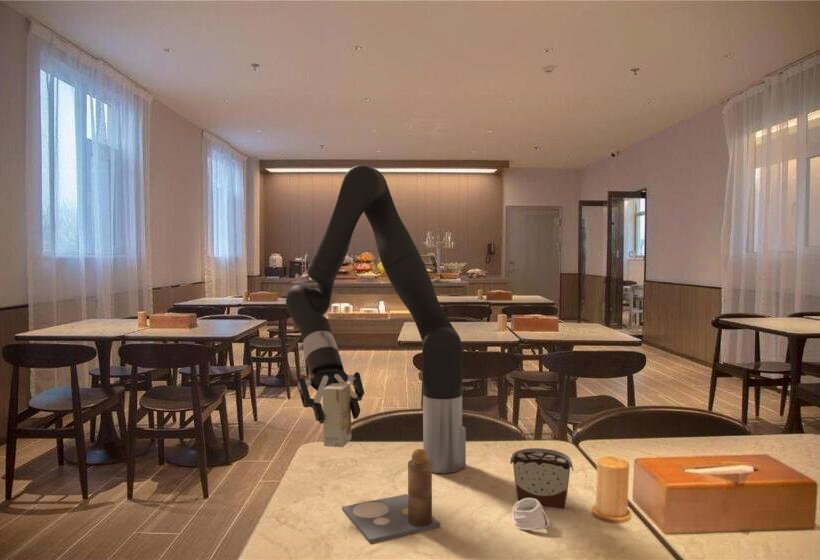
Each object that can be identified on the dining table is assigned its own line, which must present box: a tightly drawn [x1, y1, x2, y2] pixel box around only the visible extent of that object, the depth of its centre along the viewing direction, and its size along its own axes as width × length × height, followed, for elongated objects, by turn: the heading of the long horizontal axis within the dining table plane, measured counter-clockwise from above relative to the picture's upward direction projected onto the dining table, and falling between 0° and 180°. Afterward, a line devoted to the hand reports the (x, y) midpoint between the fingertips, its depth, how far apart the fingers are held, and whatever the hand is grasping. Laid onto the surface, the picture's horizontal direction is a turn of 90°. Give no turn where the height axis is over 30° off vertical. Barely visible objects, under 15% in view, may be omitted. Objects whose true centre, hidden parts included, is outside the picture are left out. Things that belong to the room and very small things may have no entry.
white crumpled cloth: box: [511, 498, 550, 531], centre depth 107 cm, size 8×7×5 cm
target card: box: [341, 493, 442, 544], centre depth 110 cm, size 14×15×1 cm
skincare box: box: [322, 383, 352, 448], centre depth 122 cm, size 6×4×12 cm
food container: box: [509, 447, 574, 511], centre depth 117 cm, size 12×6×10 cm, turn 71°
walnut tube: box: [407, 448, 433, 527], centre depth 107 cm, size 4×4×14 cm
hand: (339, 419), depth 121 cm, fingers closed on skincare box, 7 cm apart
